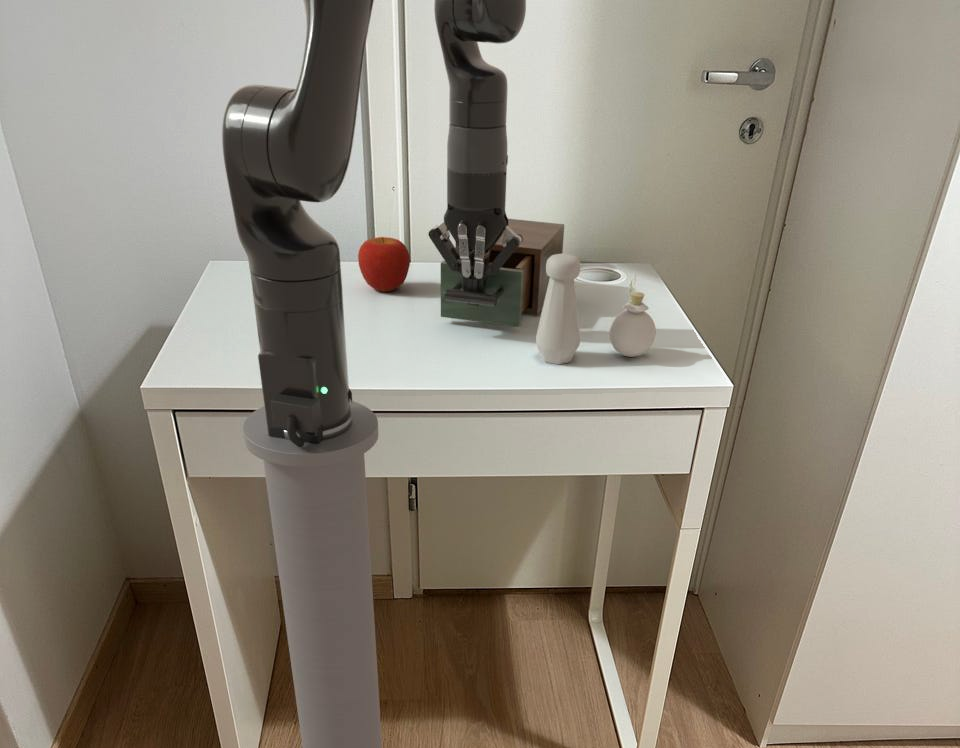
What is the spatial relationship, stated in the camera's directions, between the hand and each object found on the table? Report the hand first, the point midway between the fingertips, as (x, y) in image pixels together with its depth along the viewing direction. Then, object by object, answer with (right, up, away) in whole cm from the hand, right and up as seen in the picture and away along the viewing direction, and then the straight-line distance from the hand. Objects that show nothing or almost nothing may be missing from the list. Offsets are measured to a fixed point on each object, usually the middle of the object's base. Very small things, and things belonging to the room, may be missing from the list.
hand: (474, 304), depth 125 cm
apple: (-14, +9, +17) cm, 24 cm away
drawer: (+2, +1, +7) cm, 7 cm away
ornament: (+21, -8, -2) cm, 22 cm away
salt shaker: (+11, -9, -4) cm, 15 cm away
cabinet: (+5, +7, +16) cm, 19 cm away
